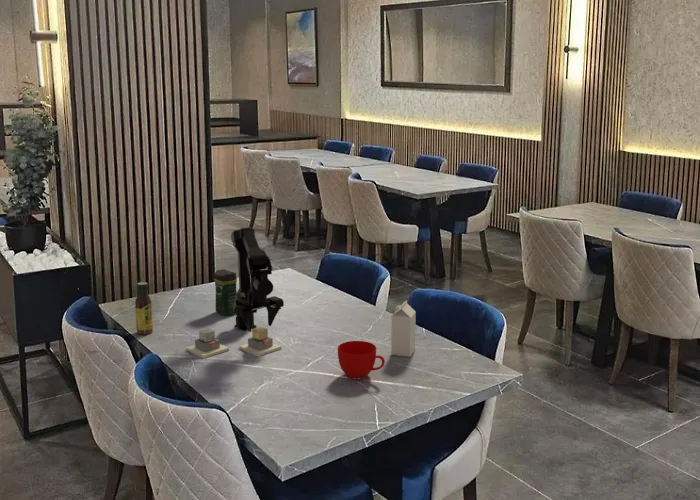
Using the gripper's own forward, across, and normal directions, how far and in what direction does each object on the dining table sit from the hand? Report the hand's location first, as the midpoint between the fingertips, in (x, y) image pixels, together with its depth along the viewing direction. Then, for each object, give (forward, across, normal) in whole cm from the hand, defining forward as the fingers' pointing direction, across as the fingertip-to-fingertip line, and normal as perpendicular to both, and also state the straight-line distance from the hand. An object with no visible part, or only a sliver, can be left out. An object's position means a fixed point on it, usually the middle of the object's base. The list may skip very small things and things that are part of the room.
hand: (259, 328), depth 273 cm
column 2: (+6, 0, 0) cm, 6 cm away
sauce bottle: (+8, +22, -45) cm, 51 cm away
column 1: (+6, +15, -12) cm, 20 cm away
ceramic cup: (+8, -9, +44) cm, 46 cm away
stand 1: (+8, +15, -12) cm, 21 cm away
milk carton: (+8, -35, +39) cm, 53 cm away
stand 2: (+8, 0, 0) cm, 8 cm away
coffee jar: (+8, -15, -43) cm, 46 cm away
